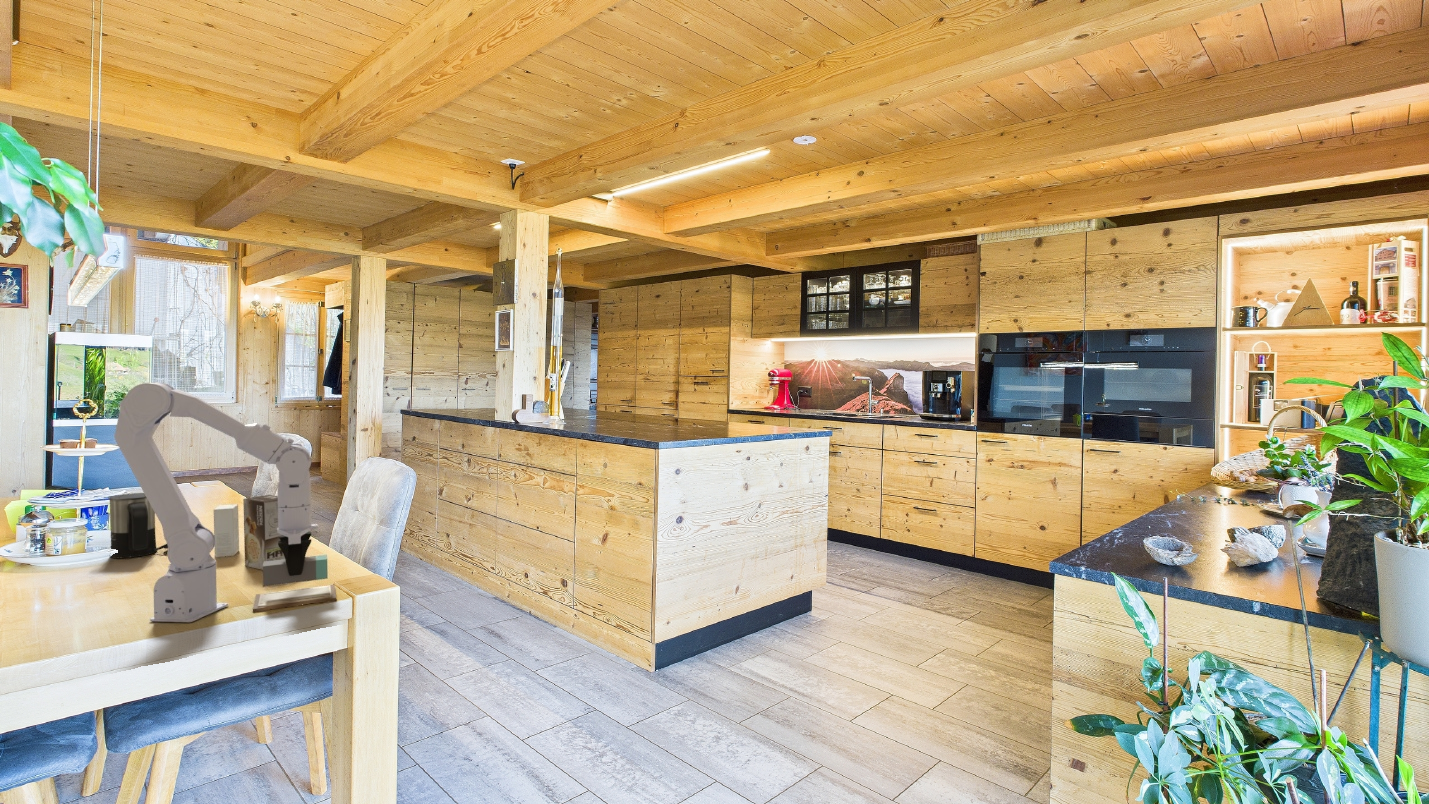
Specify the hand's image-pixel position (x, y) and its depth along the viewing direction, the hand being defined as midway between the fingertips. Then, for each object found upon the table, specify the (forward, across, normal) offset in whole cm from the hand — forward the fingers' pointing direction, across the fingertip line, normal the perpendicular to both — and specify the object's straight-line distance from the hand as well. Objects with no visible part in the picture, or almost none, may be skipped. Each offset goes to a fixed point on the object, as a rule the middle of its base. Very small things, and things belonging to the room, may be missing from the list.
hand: (295, 572), depth 140 cm
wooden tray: (+6, 0, 0) cm, 6 cm away
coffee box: (+6, +31, +6) cm, 32 cm away
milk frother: (+6, +58, +31) cm, 66 cm away
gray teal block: (+2, 0, 0) cm, 2 cm away
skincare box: (+6, +48, +15) cm, 51 cm away
